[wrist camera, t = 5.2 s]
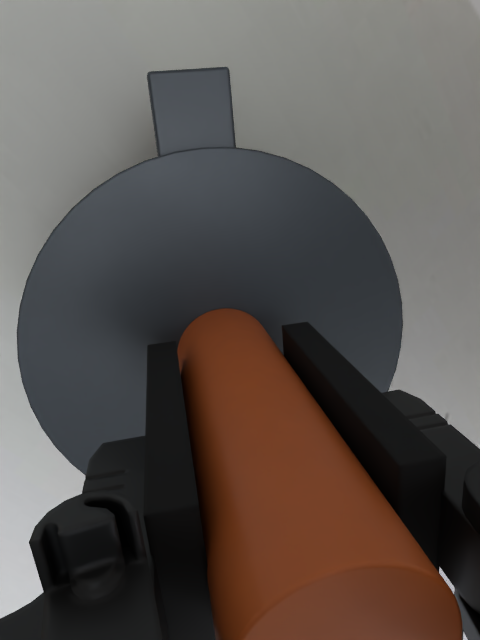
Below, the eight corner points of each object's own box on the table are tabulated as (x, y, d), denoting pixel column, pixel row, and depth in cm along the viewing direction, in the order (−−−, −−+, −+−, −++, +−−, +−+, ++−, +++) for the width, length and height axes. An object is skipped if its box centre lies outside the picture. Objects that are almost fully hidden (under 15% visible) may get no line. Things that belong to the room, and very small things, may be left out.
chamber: (298, 96, 21) (384, 51, 13) (311, 413, 27) (379, 514, 19) (42, 114, 20) (-31, 76, 12) (112, 448, 25) (93, 575, 17)
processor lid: (389, 132, 15) (965, 39, 4) (384, 458, 19) (677, 822, 8) (-20, 168, 13) (-719, 158, 3) (70, 520, 17) (-59, 1079, 7)
